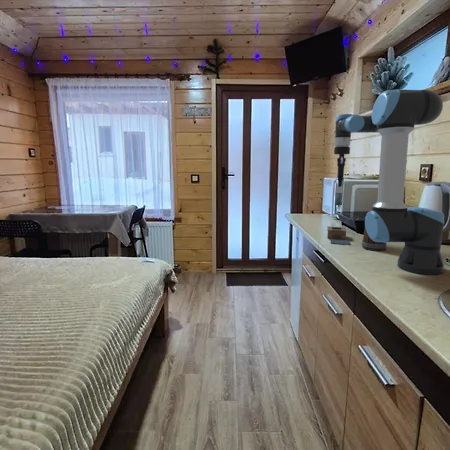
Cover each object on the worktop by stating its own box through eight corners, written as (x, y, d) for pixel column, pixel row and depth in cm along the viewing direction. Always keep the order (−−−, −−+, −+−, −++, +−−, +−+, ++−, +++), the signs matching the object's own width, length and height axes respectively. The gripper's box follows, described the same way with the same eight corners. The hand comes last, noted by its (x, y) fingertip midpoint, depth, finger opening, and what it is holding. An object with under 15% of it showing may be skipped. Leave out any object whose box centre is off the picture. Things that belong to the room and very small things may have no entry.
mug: (388, 251, 146) (392, 219, 143) (364, 250, 148) (366, 218, 145) (379, 243, 161) (382, 213, 158) (357, 242, 163) (359, 213, 160)
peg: (342, 205, 167) (344, 178, 165) (334, 205, 168) (336, 178, 166) (341, 204, 171) (343, 178, 168) (334, 204, 172) (336, 177, 169)
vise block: (345, 240, 168) (346, 230, 167) (326, 238, 170) (327, 229, 169) (344, 236, 176) (345, 227, 175) (326, 235, 179) (327, 226, 178)
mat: (350, 244, 158) (350, 244, 158) (330, 243, 160) (330, 242, 160) (348, 240, 166) (348, 239, 166) (330, 239, 169) (330, 238, 169)
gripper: (351, 145, 155) (347, 194, 159) (348, 146, 171) (345, 191, 175) (334, 145, 157) (332, 193, 162) (334, 147, 173) (331, 190, 177)
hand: (339, 192), depth 168 cm, fingers closed on peg, 4 cm apart
